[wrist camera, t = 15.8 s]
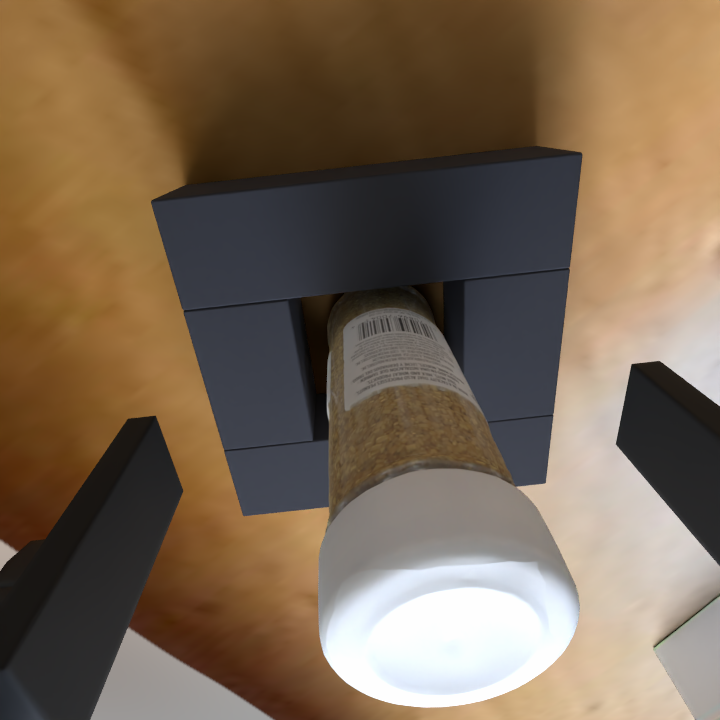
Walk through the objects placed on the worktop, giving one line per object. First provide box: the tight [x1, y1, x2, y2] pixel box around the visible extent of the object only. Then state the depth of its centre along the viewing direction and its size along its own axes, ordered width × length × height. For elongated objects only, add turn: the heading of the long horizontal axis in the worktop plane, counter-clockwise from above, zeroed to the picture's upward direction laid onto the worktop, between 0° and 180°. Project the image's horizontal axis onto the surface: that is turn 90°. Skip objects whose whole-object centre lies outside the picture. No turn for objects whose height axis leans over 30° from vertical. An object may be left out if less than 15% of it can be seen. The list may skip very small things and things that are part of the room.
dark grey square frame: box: [151, 146, 582, 516], centre depth 18 cm, size 13×13×4 cm
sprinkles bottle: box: [318, 286, 580, 707], centre depth 14 cm, size 5×5×13 cm
